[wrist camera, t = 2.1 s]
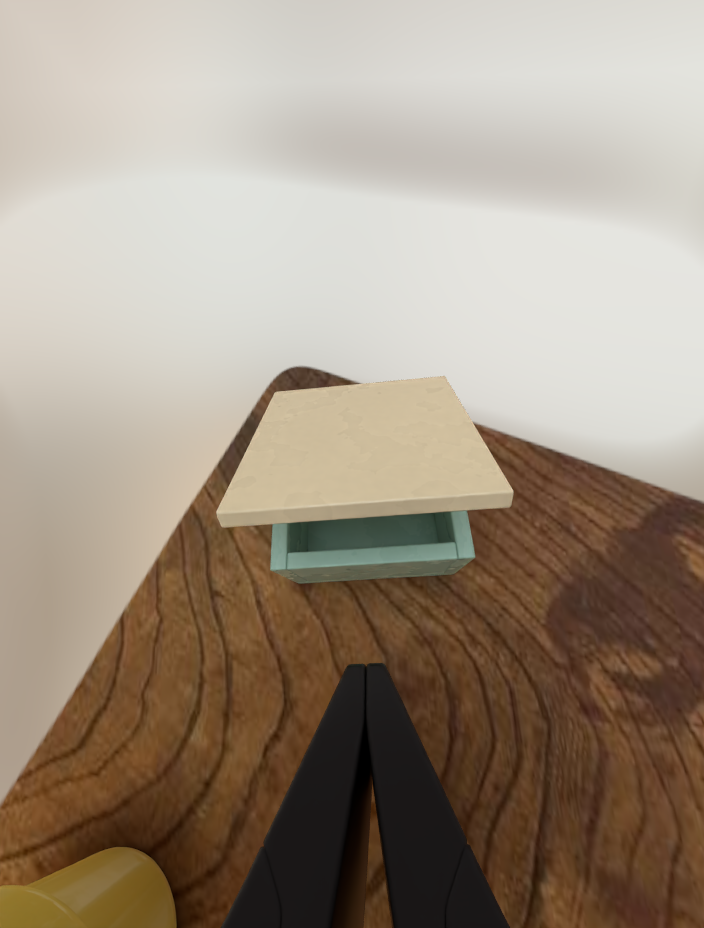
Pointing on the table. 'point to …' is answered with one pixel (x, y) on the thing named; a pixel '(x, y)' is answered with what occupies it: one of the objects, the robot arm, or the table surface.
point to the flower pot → (94, 895)
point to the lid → (363, 457)
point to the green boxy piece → (372, 547)
